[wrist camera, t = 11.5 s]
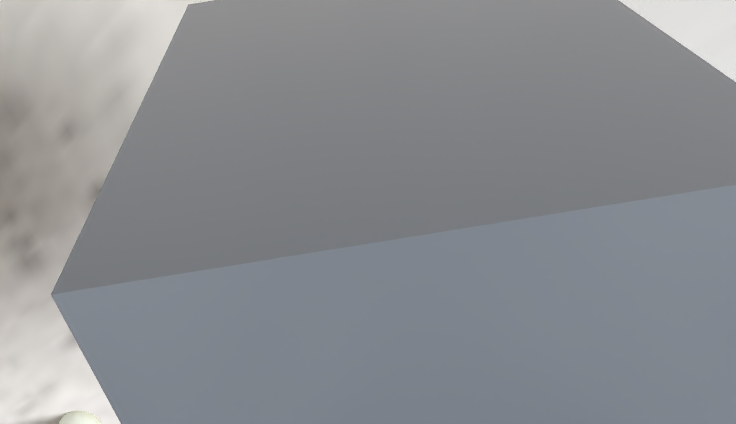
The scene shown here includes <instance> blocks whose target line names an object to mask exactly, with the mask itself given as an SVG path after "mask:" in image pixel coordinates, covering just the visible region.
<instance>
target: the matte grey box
mask: <svg viewBox="0 0 736 424" xmlns="http://www.w3.org/2000/svg"><path fill="white" fill-rule="evenodd" d="M51 295H52V297H53V299H54V301H55V303H56V304H57V306H58V308H59V310H60V312H61V314H62V316H63V317H64V319H65V321H66V323H67V325H68V327H69V328H70V330H71V332H72V334H73V336H74V338H75V340H76V341H77V343H78V345H79V347H80V349H81V351H82V352H83V354H84V356H85V358H86V360H87V362H88V363H89V365H90V367H91V369H92V371H93V373H94V375H95V376H96V378H97V380H98V382H99V384H100V386H101V387H102V389H103V391H104V393H105V395H106V397H107V399H108V400H109V402H110V404H111V406H112V408H113V410H114V411H115V413H116V415H117V417H118V419H119V421H120V422H121V424H736V82H734V81H733V80H732V79H730V78H729V77H727V76H726V75H724V74H723V73H722V72H720V71H719V70H717V69H716V68H714V67H713V66H712V65H710V64H709V63H707V62H706V61H704V60H703V59H702V58H700V57H699V56H697V55H696V54H694V53H693V52H691V51H690V50H689V49H687V48H686V47H684V46H683V45H681V44H680V43H679V42H677V41H676V40H674V39H673V38H671V37H670V36H669V35H667V34H666V33H664V32H663V31H661V30H660V29H659V28H657V27H656V26H654V25H653V24H651V23H650V22H649V21H647V20H646V19H644V18H643V17H641V16H640V15H638V14H637V13H636V12H634V11H633V10H631V9H630V8H628V7H627V6H626V5H624V4H623V3H621V2H620V1H618V0H215V1H208V2H202V3H196V4H190V5H188V7H187V9H186V11H185V13H184V15H183V17H182V19H181V22H180V24H179V26H178V28H177V30H176V32H175V34H174V36H173V38H172V41H171V43H170V45H169V47H168V49H167V51H166V53H165V55H164V57H163V60H162V62H161V64H160V66H159V68H158V70H157V72H156V74H155V76H154V79H153V81H152V83H151V85H150V87H149V89H148V91H147V93H146V95H145V98H144V100H143V102H142V104H141V106H140V108H139V110H138V112H137V114H136V117H135V119H134V121H133V123H132V125H131V127H130V129H129V131H128V133H127V136H126V138H125V140H124V142H123V144H122V146H121V148H120V150H119V152H118V155H117V157H116V159H115V161H114V163H113V165H112V167H111V169H110V171H109V173H108V176H107V178H106V180H105V182H104V184H103V186H102V188H101V190H100V192H99V195H98V197H97V199H96V201H95V203H94V205H93V207H92V209H91V211H90V214H89V216H88V218H87V220H86V222H85V224H84V226H83V228H82V230H81V233H80V235H79V237H78V239H77V241H76V243H75V245H74V247H73V249H72V252H71V254H70V256H69V258H68V260H67V262H66V264H65V266H64V268H63V271H62V273H61V275H60V277H59V279H58V281H57V283H56V285H55V287H54V290H53V292H52V294H51Z"/></svg>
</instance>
